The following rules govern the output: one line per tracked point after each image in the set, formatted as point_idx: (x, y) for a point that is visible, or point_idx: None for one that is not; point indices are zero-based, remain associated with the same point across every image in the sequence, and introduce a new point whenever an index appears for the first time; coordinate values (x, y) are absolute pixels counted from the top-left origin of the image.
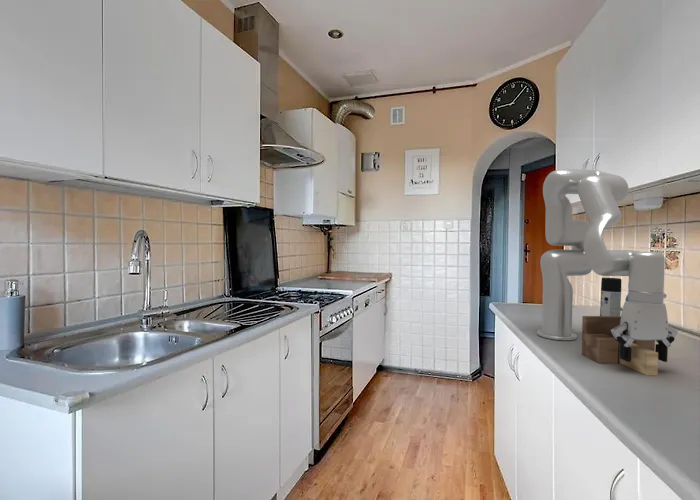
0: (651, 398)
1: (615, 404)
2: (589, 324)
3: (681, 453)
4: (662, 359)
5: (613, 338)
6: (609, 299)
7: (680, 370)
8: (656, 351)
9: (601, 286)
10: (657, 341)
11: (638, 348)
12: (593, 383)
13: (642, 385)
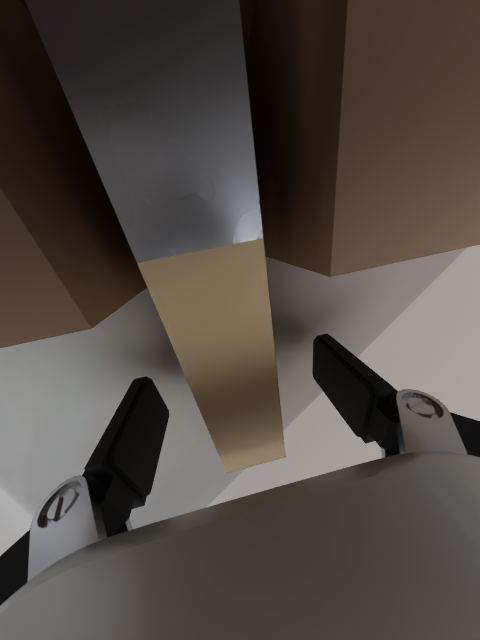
0: (161, 492)
1: None
2: None
3: None
4: (316, 374)
5: (11, 300)
6: None
7: (369, 309)
8: (335, 367)
9: None
10: (397, 429)
11: (223, 423)
12: (40, 473)
13: (171, 448)
